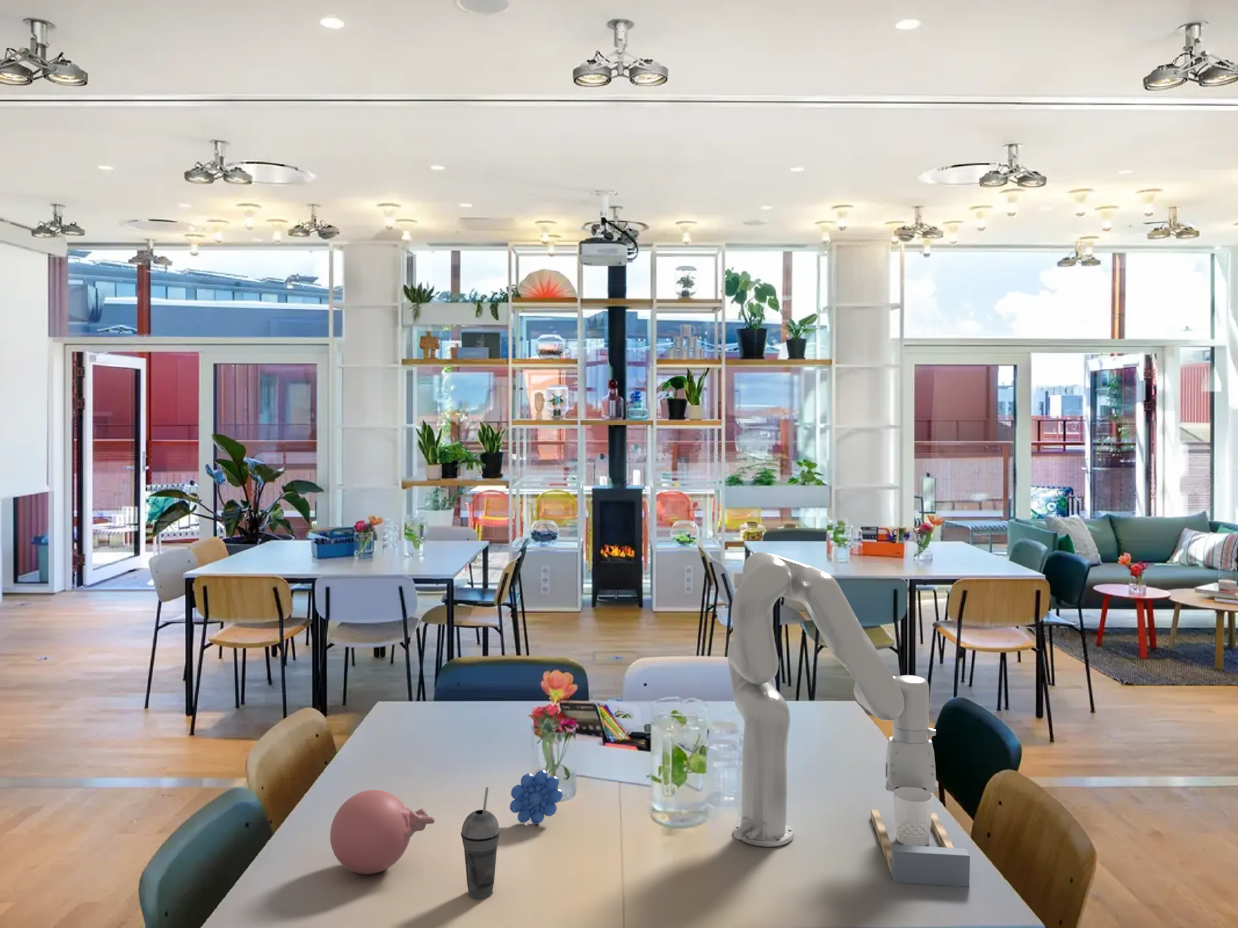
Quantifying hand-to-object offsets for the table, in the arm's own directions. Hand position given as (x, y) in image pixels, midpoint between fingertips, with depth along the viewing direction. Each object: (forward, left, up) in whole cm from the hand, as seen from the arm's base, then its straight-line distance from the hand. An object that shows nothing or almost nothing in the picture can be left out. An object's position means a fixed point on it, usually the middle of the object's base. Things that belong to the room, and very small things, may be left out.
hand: (910, 816), depth 202 cm
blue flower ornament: (-46, +67, -3) cm, 82 cm away
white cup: (-5, -2, -3) cm, 6 cm away
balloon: (-81, +76, -3) cm, 112 cm away
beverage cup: (-76, +54, -3) cm, 94 cm away
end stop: (-20, -11, -3) cm, 23 cm away
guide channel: (-7, -4, -3) cm, 9 cm away
